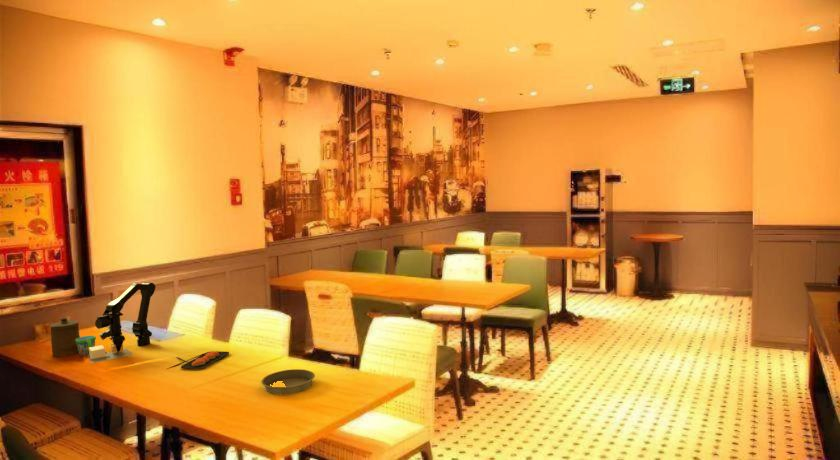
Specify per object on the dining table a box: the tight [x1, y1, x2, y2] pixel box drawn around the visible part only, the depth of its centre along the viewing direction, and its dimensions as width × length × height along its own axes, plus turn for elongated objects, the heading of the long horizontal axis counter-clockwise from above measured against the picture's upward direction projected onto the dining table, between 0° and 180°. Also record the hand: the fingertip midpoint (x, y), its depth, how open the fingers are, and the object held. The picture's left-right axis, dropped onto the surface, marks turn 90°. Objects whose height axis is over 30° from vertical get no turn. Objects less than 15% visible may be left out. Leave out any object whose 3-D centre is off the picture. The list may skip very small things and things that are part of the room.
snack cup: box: [75, 335, 97, 357], centre depth 344 cm, size 16×10×10 cm
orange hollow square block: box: [110, 343, 124, 353], centre depth 341 cm, size 5×5×4 cm
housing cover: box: [88, 344, 106, 359], centre depth 335 cm, size 7×10×5 cm
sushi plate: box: [166, 350, 230, 370], centre depth 321 cm, size 29×30×4 cm
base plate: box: [86, 348, 133, 364], centre depth 336 cm, size 21×18×3 cm
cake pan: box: [261, 368, 316, 396], centre depth 274 cm, size 25×25×4 cm
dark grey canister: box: [49, 316, 81, 357], centre depth 350 cm, size 15×15×22 cm
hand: (117, 350), depth 341 cm, fingers closed on orange hollow square block, 5 cm apart
